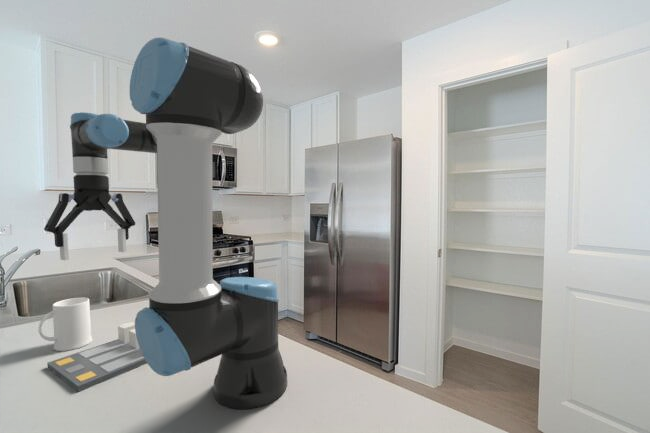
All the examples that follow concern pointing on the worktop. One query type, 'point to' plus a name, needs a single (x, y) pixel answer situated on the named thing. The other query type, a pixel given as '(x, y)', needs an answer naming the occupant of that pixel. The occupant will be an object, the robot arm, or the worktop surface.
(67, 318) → the mug
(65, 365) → the switch bank
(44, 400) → the worktop surface
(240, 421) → the worktop surface
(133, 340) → the cream cube block
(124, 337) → the off-white cube
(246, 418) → the worktop surface
